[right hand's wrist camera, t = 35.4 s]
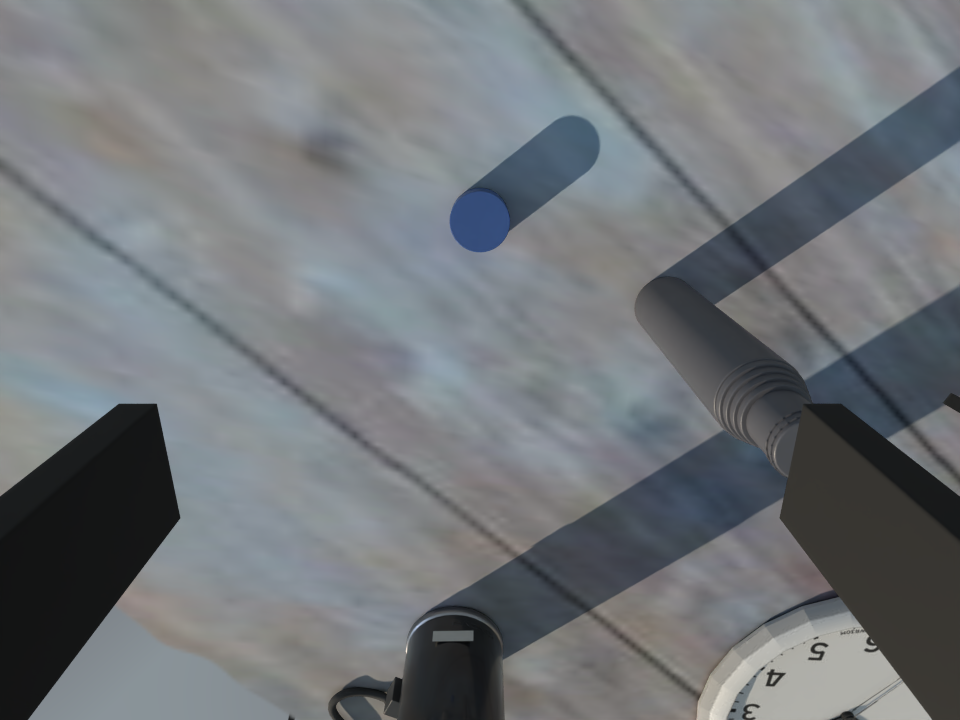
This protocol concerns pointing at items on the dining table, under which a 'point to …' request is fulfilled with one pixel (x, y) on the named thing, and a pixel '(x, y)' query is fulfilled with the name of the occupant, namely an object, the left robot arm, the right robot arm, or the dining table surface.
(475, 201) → the cap
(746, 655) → the wall clock
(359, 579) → the dining table surface
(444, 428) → the dining table surface
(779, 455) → the bottle
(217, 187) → the dining table surface
